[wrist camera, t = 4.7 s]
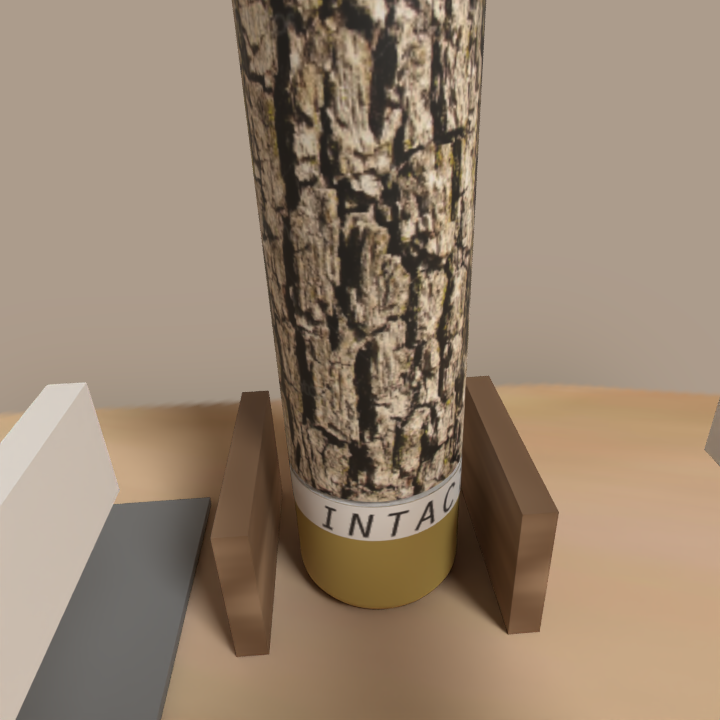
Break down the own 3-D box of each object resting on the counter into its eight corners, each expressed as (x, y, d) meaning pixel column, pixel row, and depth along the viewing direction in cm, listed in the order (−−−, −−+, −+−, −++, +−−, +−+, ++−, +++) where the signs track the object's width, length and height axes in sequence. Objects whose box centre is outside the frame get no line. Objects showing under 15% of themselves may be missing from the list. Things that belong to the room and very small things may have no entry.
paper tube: (281, 528, 27) (181, -172, 15) (408, 483, 30) (407, -152, 18) (338, 646, 22) (252, -296, 10) (488, 579, 24) (563, -245, 12)
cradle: (236, 656, 22) (210, 538, 19) (258, 493, 30) (242, 392, 27) (539, 631, 22) (558, 512, 19) (481, 476, 30) (488, 375, 27)
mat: (-240, 798, 18) (-248, 792, 18) (-35, 521, 29) (-38, 515, 28) (150, 764, 19) (147, 757, 18) (211, 503, 29) (210, 497, 29)
